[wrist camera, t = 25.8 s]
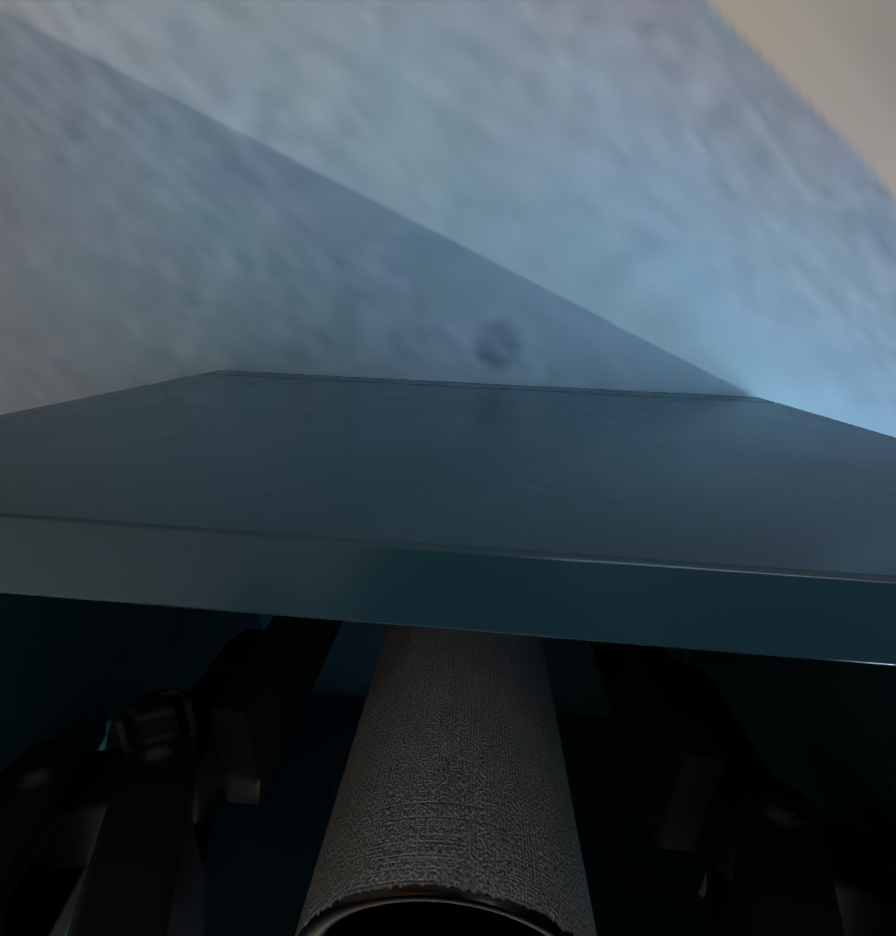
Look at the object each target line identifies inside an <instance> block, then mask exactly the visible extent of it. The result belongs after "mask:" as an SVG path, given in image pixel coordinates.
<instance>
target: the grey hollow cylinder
mask: <svg viewBox="0 0 896 936" xmlns="http://www.w3.org/2000/svg"><path fill="white" fill-rule="evenodd" d="M295 936H597V934H596V928H595V923H594V917H593V912H592V906H591V901H590V896H589V890H588V885H587V879H586V874H585V869H584V863H583V858H582V853H581V847H580V842H579V836H578V831H577V826H576V820H575V815H574V810H573V804H572V799H571V793H570V788H569V783H568V777H567V772H566V767H565V761H564V756H563V750H562V745H561V740H560V734H559V729H558V724H557V718H556V713H555V708H554V702H553V697H552V691H551V686H550V681H549V675H548V670H547V665H546V659H545V654H544V648H543V643H542V638H541V637H532V636H520V635H507V634H495V633H483V632H471V631H458V630H446V629H434V628H422V627H409V626H397V625H388V628H387V631H386V635H385V638H384V641H383V645H382V648H381V651H380V655H379V658H378V661H377V665H376V668H375V671H374V674H373V678H372V681H371V684H370V688H369V691H368V694H367V698H366V701H365V704H364V708H363V711H362V714H361V717H360V721H359V724H358V727H357V731H356V734H355V737H354V741H353V744H352V747H351V751H350V754H349V757H348V761H347V764H346V767H345V770H344V774H343V777H342V780H341V784H340V787H339V790H338V794H337V797H336V800H335V804H334V807H333V810H332V813H331V817H330V820H329V823H328V827H327V830H326V833H325V837H324V840H323V843H322V847H321V850H320V853H319V856H318V860H317V863H316V866H315V870H314V873H313V876H312V880H311V883H310V886H309V890H308V893H307V896H306V900H305V903H304V906H303V910H302V913H301V916H300V920H299V923H298V927H297V930H296V934H295Z"/></svg>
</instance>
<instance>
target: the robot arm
mask: <svg viewBox="0 0 896 936" xmlns="http://www.w3.org/2000/svg"><path fill="white" fill-rule="evenodd" d="M342 622H343V621H336V620H323V619H311V618H299V617H287V616H274V617H273V618H272V620H271V621H270V623H269V624H268V626H267V627H266V629H265V630H260V629H248V628H246V629H245V630H243V631H242V632H240V633H239V634H238V635H236V636H235V637H233V638H232V639H231V640H229V641H228V643H227V644H226V645H225V647H224V648H223V649H222V650H221V652H220V653H219V654H218V657H217V658H215V660H214V661H213V662H212V663H211V665H210V666H209V667H208V671H205V672H204V674H203V675H202V676H201V678H200V679H199V680H198V681H197V683H196V684H195V685H194V687H193V688H192V689H191V690H190V692H189V693H187V692H186V691H185V690H182V689H178V688H165V689H159V690H156V691H154V692H151V693H148V694H146V695H144V696H142V697H140V698H139V699H137V700H135V701H134V702H132V703H131V704H130V705H129V706H128V707H127V708H126V709H125V710H124V711H123V712H121V714H120V716H119V717H118V719H117V721H116V722H115V727H116V730H117V734H118V737H119V740H120V744H121V746H120V747H115V748H110V749H104V750H99V751H94V752H89V753H84V750H83V747H82V744H81V743H79V742H78V741H77V740H76V739H72V738H59V739H55V740H50V741H47V742H45V743H42V744H40V745H38V746H36V747H33V748H31V749H29V750H28V751H26V752H25V753H23V754H22V755H20V756H19V757H17V758H16V759H15V760H14V761H12V762H11V763H10V764H9V765H8V766H7V767H6V768H5V769H4V770H3V771H2V772H1V773H0V936H64V934H65V932H66V930H67V928H68V926H69V924H70V926H69V930H68V933H67V936H203V932H204V922H205V912H206V901H207V891H208V881H209V870H210V860H211V850H212V839H213V829H214V819H215V816H214V808H213V803H214V801H215V799H216V797H217V796H218V794H219V792H220V790H221V788H222V787H223V785H224V789H225V794H226V799H227V801H228V802H237V803H246V804H255V805H260V803H261V801H262V799H263V797H264V794H265V792H266V790H267V788H268V785H269V783H270V781H271V779H272V777H273V774H274V772H275V770H276V768H277V766H278V763H279V761H280V759H281V757H282V755H283V752H284V750H285V748H286V746H287V744H288V741H289V739H290V737H291V735H292V733H293V730H294V728H295V726H296V724H297V722H298V719H299V717H300V715H301V713H302V711H303V708H304V706H305V704H306V702H307V699H308V697H309V695H310V693H311V691H312V688H313V686H314V684H315V682H316V680H317V677H318V675H319V673H320V671H321V669H322V666H323V664H324V662H325V660H326V658H327V655H328V653H329V651H330V649H331V647H332V644H333V642H334V640H335V638H336V636H337V633H338V631H339V629H340V627H341V625H342ZM590 644H591V647H592V650H593V653H594V656H595V659H596V662H597V665H598V669H599V672H600V675H601V678H602V681H603V684H604V687H605V690H606V693H607V696H608V699H609V702H610V705H611V708H612V711H613V714H614V717H615V720H616V723H617V726H618V729H619V732H620V735H621V738H622V742H623V745H624V748H625V751H626V754H627V757H628V760H629V763H630V766H631V769H632V772H633V775H634V778H635V781H636V784H637V787H638V790H639V793H640V796H641V799H642V802H643V805H644V808H645V811H646V815H647V818H648V821H649V824H650V827H651V830H652V833H653V836H654V839H655V842H656V845H657V848H663V849H672V850H681V851H690V852H694V851H695V848H696V845H697V842H698V839H699V837H700V834H701V836H702V838H703V840H704V843H705V845H706V847H707V850H708V852H709V855H710V857H711V858H710V860H709V863H708V866H707V868H706V871H705V874H704V876H703V879H702V882H701V885H700V888H699V892H698V894H699V895H700V896H702V897H704V896H705V894H706V936H896V821H894V820H885V819H882V820H880V821H877V822H875V823H873V825H872V827H871V828H870V830H869V832H868V833H867V832H864V831H862V830H859V829H856V828H854V827H851V826H848V825H846V824H843V823H841V822H838V821H835V820H833V819H830V818H827V817H825V816H823V815H821V814H819V813H816V812H815V810H814V809H813V808H812V807H811V805H810V804H809V803H808V802H807V800H806V799H805V798H804V797H803V796H802V795H801V794H799V793H798V792H797V791H796V790H795V789H794V788H792V787H791V786H790V785H788V784H787V783H785V782H783V781H781V780H779V779H778V778H776V777H774V776H772V775H771V773H770V772H769V770H768V768H767V767H766V765H765V764H764V762H763V760H762V759H761V757H760V756H759V754H758V752H757V751H756V749H755V748H754V746H753V745H752V743H751V741H750V740H749V738H748V737H747V735H746V733H745V732H744V730H743V729H742V727H741V725H740V724H739V722H738V721H737V719H736V717H733V713H732V711H731V710H730V708H729V706H728V705H727V703H726V702H724V698H723V697H722V695H721V694H720V692H719V690H718V689H717V687H716V686H715V684H714V682H713V681H712V680H711V679H710V678H709V677H708V676H707V675H705V674H704V673H703V672H702V671H701V670H700V669H699V668H698V667H697V666H696V665H688V664H676V663H673V661H672V659H671V657H670V656H669V654H668V652H667V650H666V648H665V647H655V646H642V645H630V644H618V643H606V642H593V641H590ZM70 922H71V923H70Z"/></svg>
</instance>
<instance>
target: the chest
mask: <svg viewBox="0 0 896 936" xmlns="http://www.w3.org/2000/svg"><path fill="white" fill-rule="evenodd" d="M274 616H287V617H299V618H311V619H323V620H336V621H343V622H342V625H341V627H340V629H339V631H338V633H337V636H336V638H335V640H334V642H333V644H332V647H331V649H330V651H329V653H328V655H327V658H326V660H325V662H324V664H323V666H322V669H321V671H320V673H319V675H318V677H317V680H316V682H315V684H314V686H313V688H312V691H311V693H310V695H309V697H308V699H307V702H306V704H305V706H304V708H303V711H302V713H301V715H300V717H299V719H298V722H297V724H296V726H295V728H294V730H293V733H292V735H291V737H290V739H289V741H288V744H287V746H286V748H285V750H284V752H283V755H282V757H281V759H280V761H279V763H278V766H277V768H276V770H275V772H274V774H273V777H272V779H271V781H270V783H269V785H268V788H267V790H266V792H265V794H264V797H263V799H262V801H261V803H260V805H255V804H246V803H237V802H228V801H227V799H226V794H225V789H224V785H223V787H222V788H221V790H220V792H219V794H218V796H217V797H216V799H215V801H214V803H213V808H214V816H215V819H214V829H213V839H212V850H211V860H210V870H209V881H208V891H207V901H206V912H205V922H204V932H203V936H295V934H296V930H297V927H298V923H299V920H300V916H301V913H302V910H303V906H304V903H305V900H306V896H307V893H308V890H309V886H310V883H311V880H312V876H313V873H314V870H315V866H316V863H317V860H318V856H319V853H320V850H321V847H322V843H323V840H324V837H325V833H326V830H327V827H328V823H329V820H330V817H331V813H332V810H333V807H334V804H335V800H336V797H337V794H338V790H339V787H340V784H341V780H342V777H343V774H344V770H345V767H346V764H347V761H348V757H349V754H350V751H351V747H352V744H353V741H354V737H355V734H356V731H357V727H358V724H359V721H360V717H361V714H362V711H363V708H364V704H365V701H366V698H367V694H368V691H369V688H370V684H371V681H372V678H373V674H374V671H375V668H376V665H377V661H378V658H379V655H380V651H381V648H382V645H383V641H384V638H385V635H386V631H387V628H388V625H397V626H409V627H422V628H434V629H446V630H458V631H471V632H483V633H495V634H507V635H520V636H532V637H541V638H542V643H543V648H544V654H545V659H546V665H547V670H548V675H549V681H550V686H551V691H552V697H553V702H554V708H555V713H556V718H557V724H558V729H559V734H560V740H561V745H562V750H563V756H564V761H565V767H566V772H567V777H568V783H569V788H570V793H571V799H572V804H573V810H574V815H575V820H576V826H577V831H578V836H579V842H580V847H581V853H582V858H583V863H584V869H585V874H586V879H587V885H588V890H589V896H590V901H591V906H592V912H593V917H594V923H595V928H596V934H597V936H706V894H705V896H704V897H702V896H700V895H699V894H698V892H699V888H700V885H701V882H702V879H703V876H704V874H705V871H706V868H707V866H708V863H709V860H710V858H711V857H710V855H709V852H708V850H707V847H706V845H705V843H704V840H703V838H702V836H701V834H700V837H699V839H698V842H697V845H696V848H695V851H694V852H690V851H681V850H672V849H663V848H657V845H656V842H655V839H654V836H653V833H652V830H651V827H650V824H649V821H648V818H647V815H646V811H645V808H644V805H643V802H642V799H641V796H640V793H639V790H638V787H637V784H636V781H635V778H634V775H633V772H632V769H631V766H630V763H629V760H628V757H627V754H626V751H625V748H624V745H623V742H622V738H621V735H620V732H619V729H618V726H617V723H616V720H615V717H614V714H613V711H612V708H611V705H610V702H609V699H608V696H607V693H606V690H605V687H604V684H603V681H602V678H601V675H600V672H599V669H598V665H597V662H596V659H595V656H594V653H593V650H592V647H591V644H590V641H593V642H606V643H618V644H630V645H642V646H655V647H665V648H666V650H667V652H668V654H669V656H670V657H671V659H672V661H673V663H676V664H688V665H696V666H697V667H698V668H699V669H700V670H701V671H702V672H703V673H704V674H705V675H707V676H708V677H709V678H710V679H711V680H712V681H713V682H714V684H715V686H716V687H717V689H718V690H719V692H720V694H721V695H722V697H723V698H724V702H726V703H727V705H728V706H729V708H730V710H731V711H732V713H733V717H736V719H737V721H738V722H739V724H740V725H741V727H742V729H743V730H744V732H745V733H746V735H747V737H748V738H749V740H750V741H751V743H752V745H753V746H754V748H755V749H756V751H757V752H758V754H759V756H760V757H761V759H762V760H763V762H764V764H765V765H766V767H767V768H768V770H769V772H770V773H771V775H772V776H774V777H776V778H778V779H779V780H781V781H783V782H785V783H787V784H788V785H790V786H791V787H792V788H794V789H795V790H796V791H797V792H798V793H799V794H801V795H802V796H803V797H804V798H805V799H806V800H807V802H808V803H809V804H810V805H811V807H812V808H813V809H814V810H815V812H816V813H819V814H821V815H823V816H825V817H827V818H830V819H833V820H835V821H838V822H841V823H843V824H846V825H848V826H851V827H854V828H856V829H859V830H862V831H864V832H867V833H868V832H869V830H870V828H871V827H872V825H873V823H875V822H877V821H880V820H882V819H885V820H894V821H896V438H895V437H891V436H888V435H885V434H881V433H878V432H874V431H871V430H868V429H864V428H861V427H857V426H854V425H851V424H847V423H844V422H840V421H837V420H834V419H830V418H827V417H823V416H820V415H817V414H813V413H810V412H806V411H803V410H799V409H796V408H793V407H789V406H786V405H782V404H779V403H775V402H772V401H768V400H765V399H761V398H758V397H740V396H720V395H700V394H680V393H660V392H640V391H620V390H600V389H580V388H560V387H540V386H520V385H500V384H480V383H460V382H441V381H421V380H401V379H381V378H361V377H341V376H321V375H301V374H281V373H261V372H241V371H221V370H219V371H214V372H209V373H204V374H199V375H194V376H189V377H184V378H179V379H174V380H169V381H165V382H160V383H155V384H150V385H145V386H140V387H136V388H131V389H126V390H121V391H116V392H111V393H106V394H102V395H97V396H92V397H87V398H82V399H77V400H73V401H68V402H63V403H58V404H53V405H48V406H43V407H39V408H34V409H29V410H24V411H19V412H14V413H9V414H5V415H0V773H1V772H2V771H3V770H4V769H5V768H6V767H7V766H8V765H9V764H10V763H11V762H12V761H14V760H15V759H16V758H17V757H19V756H20V755H22V754H23V753H25V752H26V751H28V750H29V749H31V748H33V747H36V746H38V745H40V744H42V743H45V742H47V741H50V740H55V739H59V738H72V739H76V740H77V741H78V742H79V743H81V744H82V747H83V750H84V753H89V752H94V751H99V750H104V749H110V748H115V747H120V746H121V744H120V740H119V737H118V734H117V730H116V727H115V722H116V721H117V719H118V717H119V716H120V714H121V712H123V711H124V710H125V709H126V708H127V707H128V706H129V705H130V704H131V703H132V702H134V701H135V700H137V699H139V698H140V697H142V696H144V695H146V694H148V693H151V692H154V691H156V690H159V689H165V688H178V689H182V690H185V691H186V692H187V693H189V692H190V690H191V689H192V688H193V687H194V685H195V684H196V683H197V681H198V680H199V679H200V678H201V676H202V675H203V674H204V672H205V671H208V667H209V666H210V665H211V663H212V662H213V661H214V660H215V658H217V657H218V654H219V653H220V652H221V650H222V649H223V648H224V647H225V645H226V644H227V643H228V641H229V640H231V639H232V638H233V637H235V636H236V635H238V634H239V633H240V632H242V631H243V630H245V629H246V628H248V629H260V630H265V629H266V627H267V626H268V624H269V623H270V621H271V620H272V618H273V617H274ZM70 923H71V922H70ZM69 926H70V924H69ZM69 926H68V928H67V930H66V932H65V934H64V936H67V933H68V930H69Z"/></svg>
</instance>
